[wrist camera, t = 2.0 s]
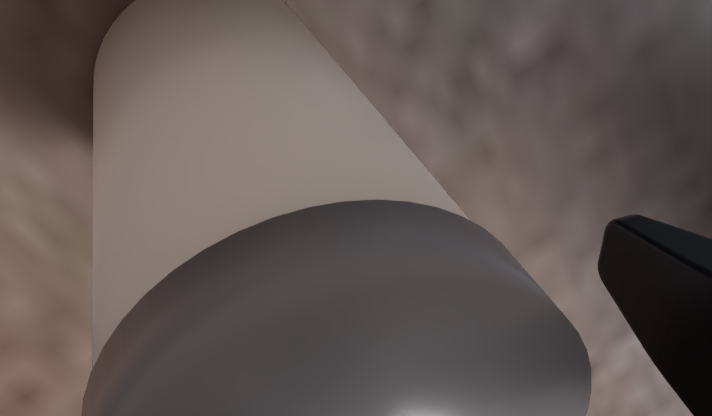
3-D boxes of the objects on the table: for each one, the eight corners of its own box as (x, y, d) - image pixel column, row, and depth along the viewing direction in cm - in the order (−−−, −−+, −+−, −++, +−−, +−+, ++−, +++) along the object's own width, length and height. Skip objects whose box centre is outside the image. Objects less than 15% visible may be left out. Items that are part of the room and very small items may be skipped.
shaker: (315, -46, 14) (637, 214, 6) (332, 166, 17) (557, 534, 8) (54, -11, 12) (-20, 387, 4) (123, 210, 15) (155, 691, 7)
